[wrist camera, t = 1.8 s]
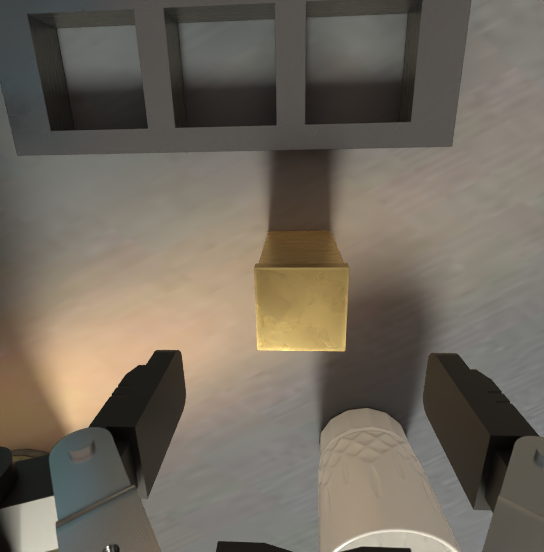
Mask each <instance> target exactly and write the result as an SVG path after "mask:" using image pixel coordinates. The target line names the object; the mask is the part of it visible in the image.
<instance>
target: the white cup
mask: <svg viewBox="0 0 544 552" xmlns="http://www.w3.org/2000/svg"><path fill="white" fill-rule="evenodd" d="M319 455H320V466H319V472H318V476H319V484H318V507H319V552H341V551H346V550H350V549H354V548H358V547H362V546H366V547H394V548H411V552H461V549H460V547H459V545H458V543H457V541H456V539H455V537H454V534H453V532H452V530H451V528H450V526H449V523H448V521H447V519H446V517H445V515H444V512H443V510H442V508H441V506H440V504H439V502H438V499H437V497H436V495H435V493H434V491H433V489H432V486H431V484H430V482H429V480H428V478H427V475H426V474H425V472H424V470H423V468H422V466H421V464H420V462H419V460H418V457H417V456H416V455H415V454H414V452H413V450H412V448H411V446H410V445H409V442H408V440H407V438H406V436H405V433H404V431H403V429H402V426H401V425H400V423H398V422H397V421H396V420H395V419H393V418H392V417H391V416H389V415H388V414H387V413H385V412H381V411H377V410H373V409H370V408H362V409H354V410H347V411H345V412H343V413H341V414H339V415H338V416H336V417H334V418H332V419H331V420H330V421H329V422H328V424H327V425H326V427H325V428H324V429H323V431H322V432H321V437H320V447H319Z"/></svg>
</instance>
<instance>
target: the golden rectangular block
mask: <svg viewBox="0 0 544 552" xmlns="http://www.w3.org/2000/svg"><path fill="white" fill-rule="evenodd" d="M254 272H255V299H256V325H257V350H286V351H345V342H346V322H347V303H348V283H349V266H348V264H347V263H344V262H343V259H342V257H341V255H340V252H339V250H338V247H337V245H336V243H335V240H334V238H333V236H332V233H331V231H268V234H267V238H266V241H265V244H264V247H263V251H262V254H261V257H260V260H259V264H255V267H254Z"/></svg>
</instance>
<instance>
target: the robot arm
mask: <svg viewBox="0 0 544 552" xmlns="http://www.w3.org/2000/svg"><path fill="white" fill-rule="evenodd" d="M185 399H186V389H185V380H184V371H183V362H182V355H181V352H180V351H179V350H156V351H155V352H154V353H153V355H152V357H151V358H150V360H149V361H148V363H147V364H146V365H138V366H137V367H136V368H134V369H133V370H131V371H130V372H129V373H127V374H126V375H125V377H124V378H123V379H122V381H121V382H120V384H119V385H118V388H116V389H115V391H114V392H113V393H112V397H110V398H109V399H108V400H107V402H106V403H105V405H104V406H103V407H102V409H101V410H100V412H99V413H98V414H97V416H96V417H95V419H94V420H93V421H92V423H91V424H90V426H89V427H88V428H84V429H81V430H78V431H75V432H73V433H71V434H69V435H67V436H66V437H64V438H63V439H62V440H60V441H59V442H58V443H57V444H56V445H55V446H54V448H53V449H52V451H51V453H50V454H47V455H43V456H39V457H34V458H30V459H25V460H21V461H16V462H15V461H14V458H13V455H12V452H11V451H10V450H9V449H8V448H5V447H0V552H47V551H51V550H54V549H59V552H161V550H160V547H159V545H158V542H157V539H156V537H155V534H154V532H153V529H152V527H151V524H150V522H149V519H148V517H147V514H146V512H145V509H144V507H143V504H142V501H141V499H140V498H145V499H148V496H149V494H150V491H151V489H152V486H153V484H154V481H155V479H156V477H157V474H158V472H159V469H160V467H161V464H162V462H163V459H164V457H165V454H166V452H167V449H168V447H169V444H170V442H171V439H172V437H173V434H174V432H175V429H176V427H177V424H178V422H179V419H180V417H181V414H182V412H183V409H184V406H185ZM423 404H424V409H425V413H426V415H427V417H428V419H429V421H430V423H431V425H432V427H433V429H434V431H435V433H436V435H437V437H438V439H439V441H440V443H441V445H442V447H443V449H444V451H445V453H446V455H447V457H448V459H449V461H450V463H451V465H452V467H453V469H454V471H455V473H456V475H457V477H458V479H459V481H460V483H461V485H462V487H463V489H464V491H465V493H466V495H467V497H468V499H469V501H470V503H471V505H472V507H473V509H474V510H492V512H493V516H492V520H491V523H490V526H489V530H488V533H487V537H486V540H485V543H484V547H483V550H482V552H544V438H543V437H540V436H539V435H538V434H537V433H536V432H535V430H534V429H533V428H532V427H531V426H530V425H529V423H528V422H527V421H526V420H525V419H524V417H523V416H522V415H521V414H520V413H519V412H518V410H517V409H516V408H515V407H514V406H513V404H510V401H509V400H508V399H507V397H506V396H505V395H504V394H502V393H501V390H500V389H499V388H498V387H497V386H496V384H495V383H494V382H493V381H492V380H491V379H490V378H488V377H487V376H485V375H483V374H482V373H480V372H479V371H477V370H470V369H469V367H468V366H467V365H466V364H465V362H464V361H463V360H462V359H461V357H460V356H459V355H458V354H456V353H431V354H430V356H429V358H428V364H427V371H426V378H425V385H424V392H423ZM216 552H292V551H289V550H285V549H282V548H279V547H276V546H273V545H269V544H266V543H253V542H225V541H218V544H217V549H216ZM341 552H411V548H394V547H366V546H362V547H358V548H354V549H350V550H346V551H341Z"/></svg>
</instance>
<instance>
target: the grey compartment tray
mask: <svg viewBox="0 0 544 552" xmlns="http://www.w3.org/2000/svg"><path fill="white" fill-rule="evenodd" d="M470 6H471V0H0V84H1V88H2V92H3V96H4V101H5V105H6V109H7V113H8V118H9V122H10V126H11V131H12V135H13V139H14V143H15V148H16V152H17V156H25V155H72V154H120V153H168V152H215V151H263V150H310V149H358V148H405V147H452V143H453V135H454V128H455V120H456V113H457V105H458V97H459V90H460V82H461V75H462V67H463V59H464V52H465V44H466V37H467V29H468V22H469V14H470ZM402 13H408V23H407V34H406V46H405V58H404V69H403V81H402V93H401V105H400V116H399V122H393V123H353V124H313V125H305V65H306V18H308V17H331V16H355V15H378V14H402ZM261 19H275V44H276V111H277V125H273V126H233V127H193V128H187V121H186V110H185V99H184V87H183V76H182V65H181V54H180V43H179V31H178V23H190V22H214V21H237V20H261ZM119 25H136V33H137V41H138V50H139V58H140V66H141V74H142V83H143V91H144V99H145V107H146V115H147V124H148V129H113V130H74V125H73V119H72V114H71V108H70V103H69V97H68V92H67V86H66V81H65V75H64V70H63V64H62V59H61V53H60V48H59V42H58V37H57V31H56V28H72V27H96V26H119Z"/></svg>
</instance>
